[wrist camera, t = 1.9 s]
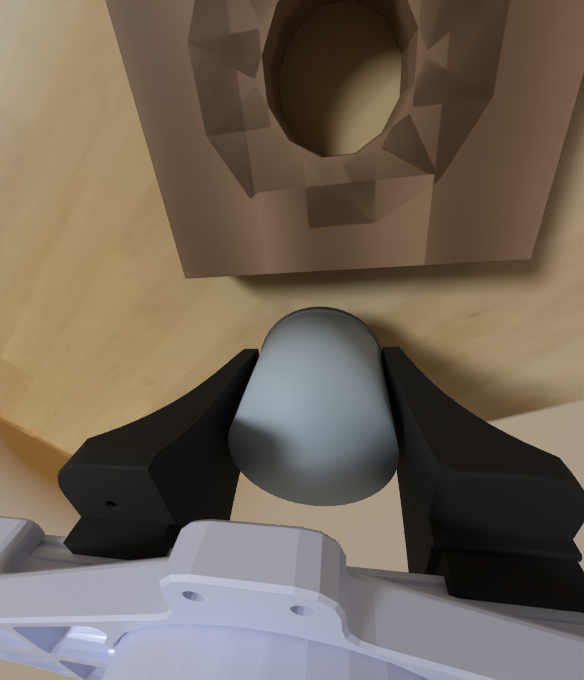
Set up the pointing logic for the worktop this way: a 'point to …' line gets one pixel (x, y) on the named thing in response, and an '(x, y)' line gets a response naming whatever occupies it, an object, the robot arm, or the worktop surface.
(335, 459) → the peg
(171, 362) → the worktop surface
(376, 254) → the board
